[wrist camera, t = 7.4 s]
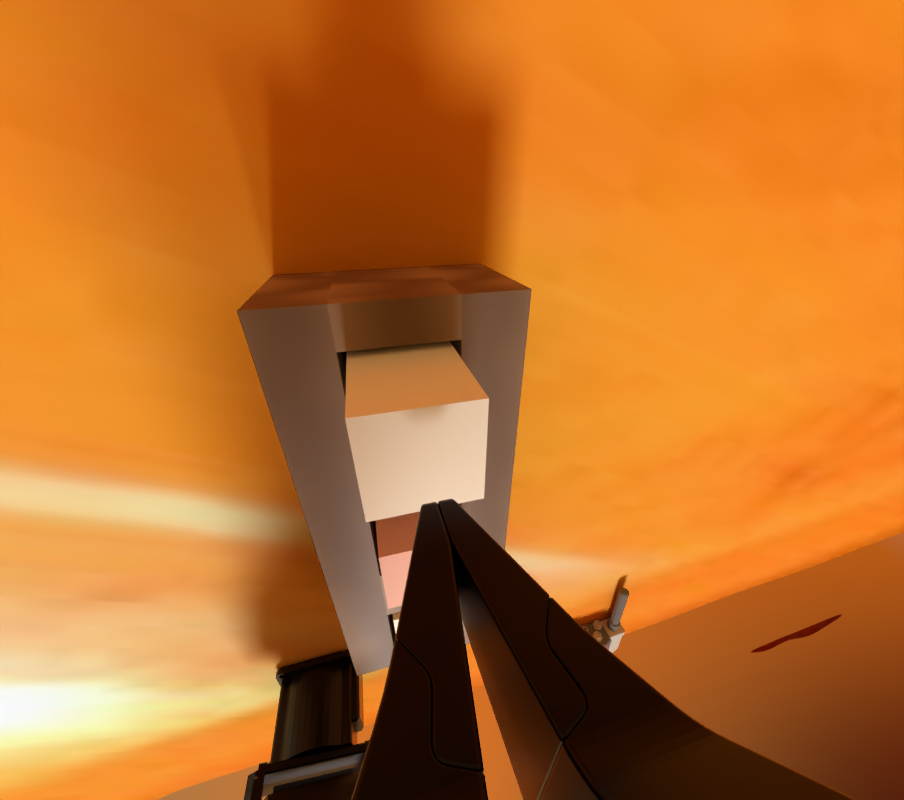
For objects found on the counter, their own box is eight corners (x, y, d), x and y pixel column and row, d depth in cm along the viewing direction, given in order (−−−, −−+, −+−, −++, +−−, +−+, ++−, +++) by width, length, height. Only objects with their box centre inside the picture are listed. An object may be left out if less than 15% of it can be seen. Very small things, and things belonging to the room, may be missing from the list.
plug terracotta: (379, 518, 22) (388, 609, 17) (371, 470, 20) (378, 557, 15) (441, 505, 23) (466, 588, 18) (439, 458, 21) (466, 538, 16)
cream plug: (361, 423, 16) (365, 522, 11) (346, 342, 14) (344, 418, 9) (445, 411, 17) (484, 498, 12) (443, 332, 15) (488, 398, 10)
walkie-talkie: (599, 656, 50) (625, 576, 40) (619, 692, 47) (653, 614, 36) (544, 676, 49) (555, 598, 38) (560, 715, 45) (577, 641, 35)
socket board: (356, 591, 28) (357, 676, 23) (273, 275, 16) (237, 310, 11) (472, 563, 31) (495, 635, 26) (480, 263, 18) (531, 289, 13)
